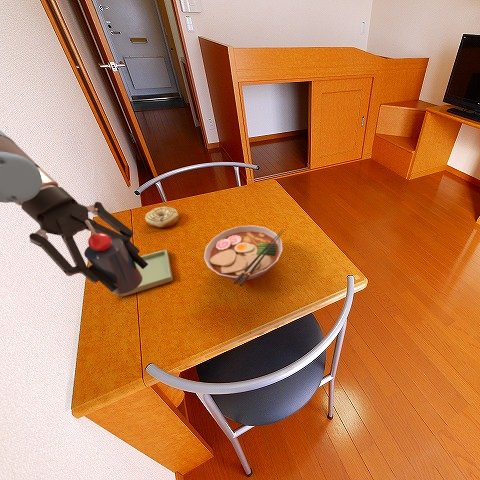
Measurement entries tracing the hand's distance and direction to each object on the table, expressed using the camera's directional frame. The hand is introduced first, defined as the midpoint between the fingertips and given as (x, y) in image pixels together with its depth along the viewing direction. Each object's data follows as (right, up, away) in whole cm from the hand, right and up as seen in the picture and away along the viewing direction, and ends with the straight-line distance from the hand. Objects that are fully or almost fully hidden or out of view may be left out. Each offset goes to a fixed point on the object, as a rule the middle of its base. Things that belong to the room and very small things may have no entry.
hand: (130, 277), depth 61 cm
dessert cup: (-3, -2, +3) cm, 5 cm away
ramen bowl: (+19, 0, +26) cm, 32 cm away
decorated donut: (-16, +15, +42) cm, 47 cm away
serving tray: (-10, -2, +22) cm, 24 cm away
